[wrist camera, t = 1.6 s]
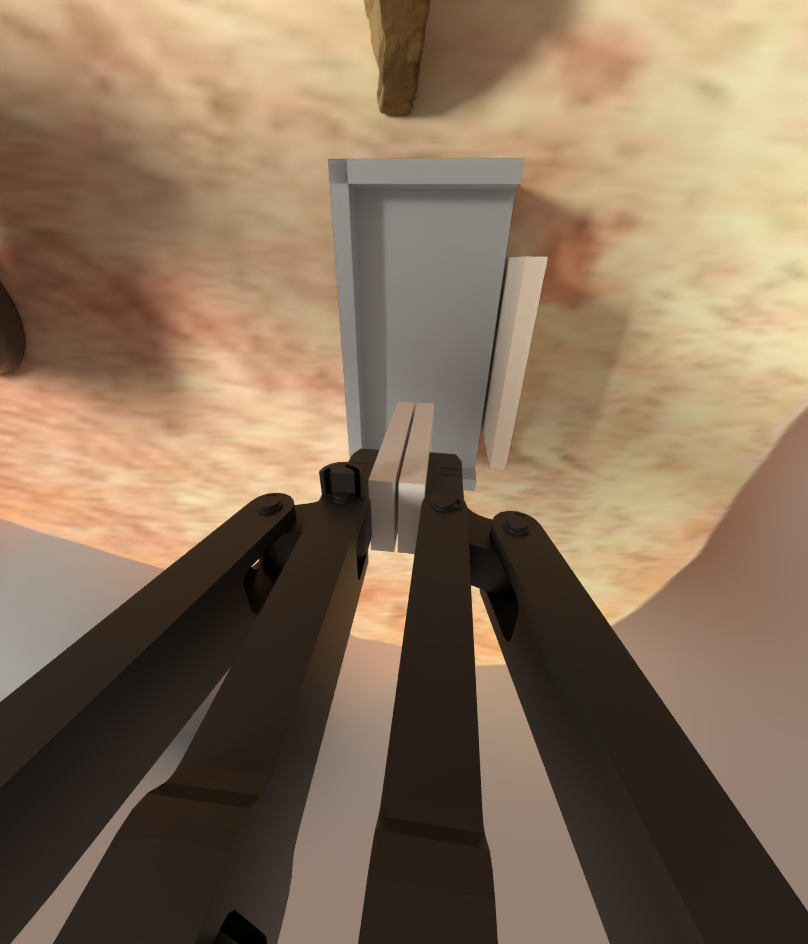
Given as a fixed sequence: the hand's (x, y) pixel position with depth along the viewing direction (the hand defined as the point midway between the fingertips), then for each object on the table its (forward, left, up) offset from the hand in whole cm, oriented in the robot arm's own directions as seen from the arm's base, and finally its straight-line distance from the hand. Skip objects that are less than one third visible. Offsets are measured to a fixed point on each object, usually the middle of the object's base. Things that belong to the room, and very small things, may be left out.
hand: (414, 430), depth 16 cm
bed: (-1, 0, -20) cm, 20 cm away
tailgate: (+6, 0, -20) cm, 21 cm away
